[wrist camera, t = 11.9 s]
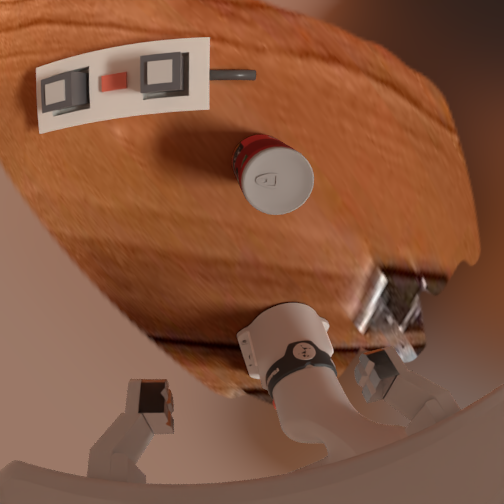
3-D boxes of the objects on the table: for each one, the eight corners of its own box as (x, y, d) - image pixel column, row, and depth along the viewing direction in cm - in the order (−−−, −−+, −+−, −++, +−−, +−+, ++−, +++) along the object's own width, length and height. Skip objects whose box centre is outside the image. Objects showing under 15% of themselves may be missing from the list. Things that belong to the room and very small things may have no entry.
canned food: (225, 140, 38) (234, 156, 29) (282, 128, 38) (310, 141, 29) (237, 191, 42) (249, 223, 33) (290, 179, 42) (318, 206, 33)
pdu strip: (253, 107, 36) (269, 111, 28) (55, 128, 32) (22, 140, 24) (254, 44, 32) (271, 31, 24) (52, 69, 27) (18, 67, 19)
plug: (184, 90, 32) (180, 89, 25) (152, 93, 31) (139, 93, 24) (184, 60, 30) (180, 51, 23) (152, 63, 29) (139, 55, 22)
